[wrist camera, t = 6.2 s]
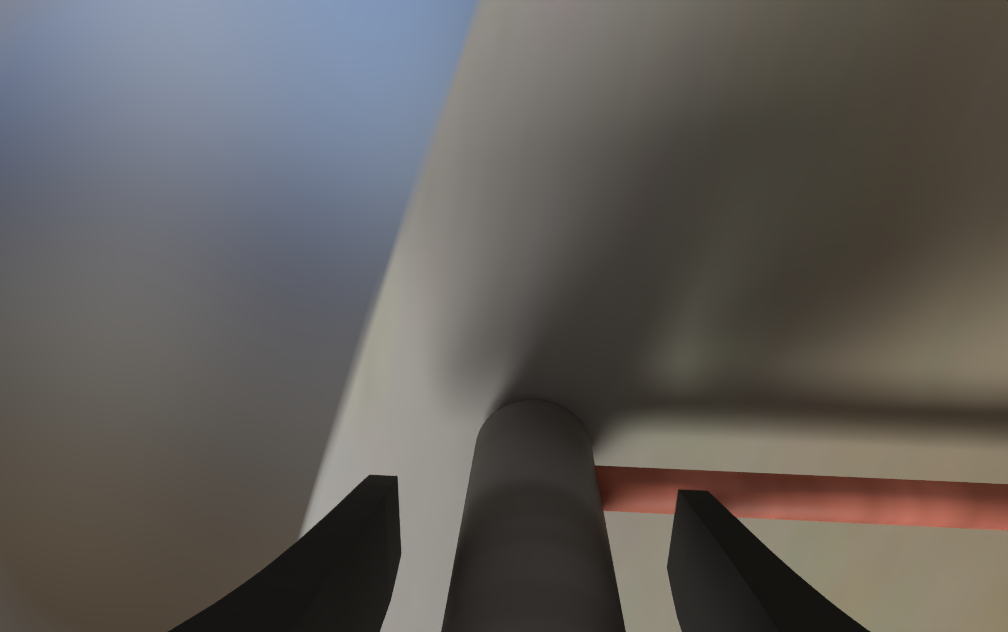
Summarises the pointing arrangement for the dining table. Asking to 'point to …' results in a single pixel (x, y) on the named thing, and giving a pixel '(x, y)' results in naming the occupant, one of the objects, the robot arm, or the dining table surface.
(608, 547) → the grey and red rod
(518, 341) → the dining table surface
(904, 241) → the dining table surface
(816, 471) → the dining table surface
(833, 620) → the robot arm
